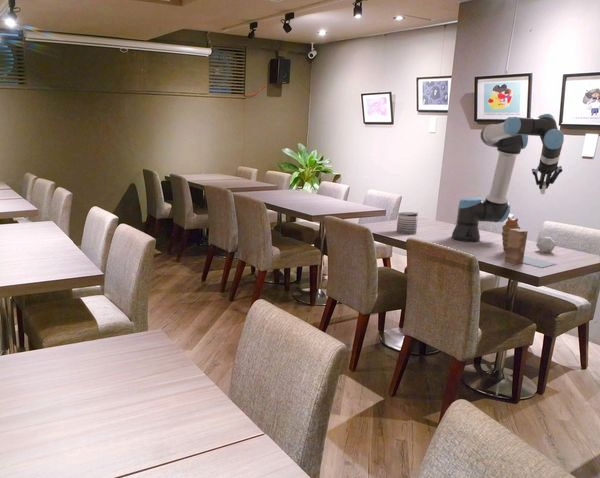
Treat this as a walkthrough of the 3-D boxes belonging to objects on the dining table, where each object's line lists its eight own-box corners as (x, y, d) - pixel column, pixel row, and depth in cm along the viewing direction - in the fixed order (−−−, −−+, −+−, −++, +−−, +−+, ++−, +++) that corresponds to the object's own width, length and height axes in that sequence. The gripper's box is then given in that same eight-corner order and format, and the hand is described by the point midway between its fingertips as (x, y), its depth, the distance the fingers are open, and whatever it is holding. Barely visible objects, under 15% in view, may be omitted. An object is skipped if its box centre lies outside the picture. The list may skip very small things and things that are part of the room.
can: (407, 235, 289) (409, 214, 286) (392, 231, 297) (394, 211, 295) (420, 233, 296) (422, 213, 293) (404, 230, 305) (406, 210, 302)
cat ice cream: (519, 253, 260) (524, 218, 256) (512, 255, 255) (517, 219, 251) (502, 249, 266) (507, 215, 262) (495, 251, 261) (500, 216, 257)
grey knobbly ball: (552, 256, 261) (561, 240, 262) (538, 246, 261) (547, 231, 262) (544, 257, 269) (553, 242, 270) (530, 248, 269) (539, 233, 271)
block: (514, 265, 234) (519, 231, 231) (504, 262, 240) (509, 228, 236) (522, 265, 236) (527, 231, 233) (512, 261, 242) (517, 228, 238)
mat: (505, 258, 246) (505, 258, 246) (520, 255, 255) (520, 254, 255) (541, 268, 233) (542, 267, 233) (556, 264, 241) (556, 263, 241)
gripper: (534, 166, 228) (528, 199, 247) (567, 164, 224) (558, 197, 243) (532, 154, 232) (526, 187, 251) (563, 151, 229) (555, 184, 247)
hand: (542, 192), depth 247 cm, fingers closed
